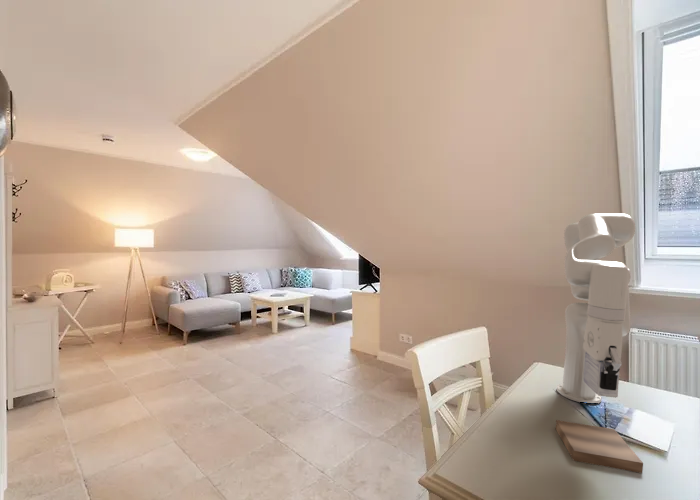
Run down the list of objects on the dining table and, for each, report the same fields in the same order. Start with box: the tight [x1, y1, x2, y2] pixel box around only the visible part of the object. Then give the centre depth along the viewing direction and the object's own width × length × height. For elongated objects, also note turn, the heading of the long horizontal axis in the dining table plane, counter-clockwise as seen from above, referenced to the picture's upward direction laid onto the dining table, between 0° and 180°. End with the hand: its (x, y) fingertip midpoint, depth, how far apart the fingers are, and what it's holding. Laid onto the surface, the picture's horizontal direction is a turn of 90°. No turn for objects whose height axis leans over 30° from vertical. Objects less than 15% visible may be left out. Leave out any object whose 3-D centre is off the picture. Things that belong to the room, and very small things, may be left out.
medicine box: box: [584, 352, 620, 398], centre depth 87 cm, size 8×4×9 cm, turn 168°
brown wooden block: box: [555, 419, 644, 474], centre depth 88 cm, size 14×14×2 cm
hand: (599, 381), depth 87 cm, fingers closed on medicine box, 8 cm apart
